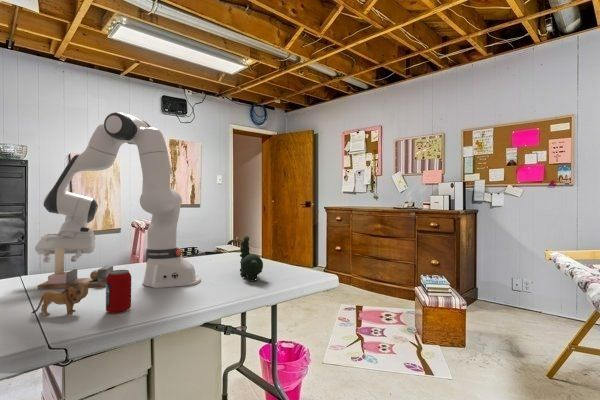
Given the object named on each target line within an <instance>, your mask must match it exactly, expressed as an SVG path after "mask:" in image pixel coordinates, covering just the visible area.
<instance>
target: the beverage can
mask: <svg viewBox="0 0 600 400" xmlns="http://www.w3.org/2000/svg"><path fill="white" fill-rule="evenodd" d="M131 307H132V274H131V273H130V271H129V269H115V270H114V269H113V271H110V272H109V274H108V276H107V278H106V287H105V312H108V313H109V314H114V315H115V314H122V313H125V312H127V311H128V310H130V309H131Z"/></svg>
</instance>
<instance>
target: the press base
mask: <svg viewBox="0 0 600 400" xmlns="http://www.w3.org/2000/svg"><path fill="white" fill-rule="evenodd" d="M110 271H114V265H104V266H102V267H100V268H99V269H96V270H93V271H91V272H90V274H89V276H90V277H81V278H80V277H79V278H78V277H77V279H76V280H74V281H72V282H70V283H64V284H48V280H47V281H44V282H42V283H40V284H37V286H36V287H37V290H52V289H54V290H56V289H57V290H58V289H59V290H60V289H67V288H69V287H71V286H73V285H75V284H77V283H79V282H84V283H86V284H88V285H87V287H88V288H104V287H105V288H106V278H107V276H108V274H109V272H110Z"/></svg>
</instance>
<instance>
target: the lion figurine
mask: <svg viewBox="0 0 600 400" xmlns="http://www.w3.org/2000/svg"><path fill="white" fill-rule="evenodd" d="M87 285H88V284H86V283H84V282H79V283H77V284H75V285H73V286H71V287H69V288H65V289H64V290H63V291H55V290H47V291H45V292H44V293H43V294H42V295H41V297H40V300H39V302H38V306H37V307H36V308H35V310H33V311H32V312H31V313H30V314H36V313H37V312H38V310H39V309H40V307H41V309H40V312H41V313H42V314H43V315H44V316H45V317H47V316H50V315H51V314H50V312H48V307H49V305H51V304H52V303H53V304H55V305H60V306H61V305H65V306H66V307H65V308H66V315H67V316H72V315H73V313H75V312H76V309H73V308H74V306H75V304H79V303H80V302H81V300H83V299H85V298H86V297H87V295H88V294H89V287H87Z"/></svg>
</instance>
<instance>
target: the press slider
mask: <svg viewBox="0 0 600 400" xmlns="http://www.w3.org/2000/svg"><path fill="white" fill-rule="evenodd" d="M53 272H54V273H52V274H50V275H48V276H47V281H48V284H64V283H70V282H72V281H74V280H76V279H77V278H78V268H74V269H72V270H69V271H65V254H64V248H55V254H54V271H53Z"/></svg>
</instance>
